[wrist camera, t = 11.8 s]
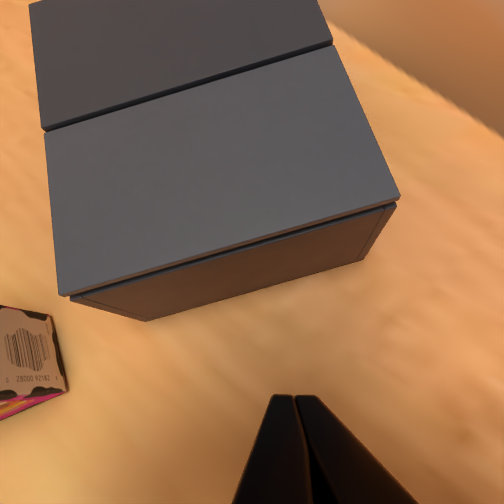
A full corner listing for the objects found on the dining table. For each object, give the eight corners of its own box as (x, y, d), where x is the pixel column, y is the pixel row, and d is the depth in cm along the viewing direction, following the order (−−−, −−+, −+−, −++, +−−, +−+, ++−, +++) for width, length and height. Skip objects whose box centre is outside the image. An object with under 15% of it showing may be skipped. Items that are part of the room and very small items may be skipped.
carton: (363, 259, 21) (403, 197, 13) (144, 322, 22) (57, 298, 14) (288, 57, 26) (284, -79, 18) (108, 112, 26) (26, 3, 18)
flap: (398, 200, 14) (401, 195, 13) (64, 297, 14) (58, 295, 14) (333, 51, 16) (334, 44, 16) (49, 138, 16) (43, 132, 16)
